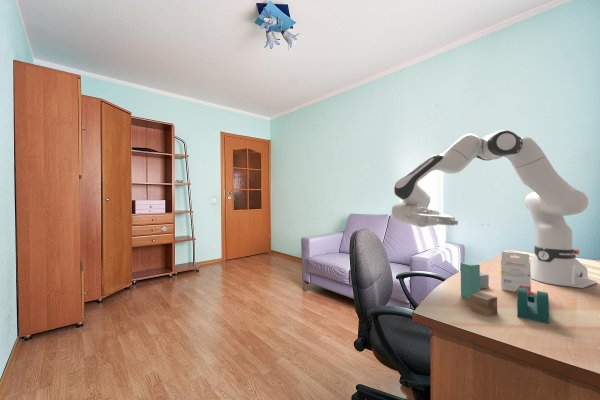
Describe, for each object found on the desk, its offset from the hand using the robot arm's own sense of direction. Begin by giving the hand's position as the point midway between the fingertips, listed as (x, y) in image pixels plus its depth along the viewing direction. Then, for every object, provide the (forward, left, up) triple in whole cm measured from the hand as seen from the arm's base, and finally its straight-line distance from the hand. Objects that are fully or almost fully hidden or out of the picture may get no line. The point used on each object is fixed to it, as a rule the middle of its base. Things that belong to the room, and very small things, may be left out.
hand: (448, 222), depth 101 cm
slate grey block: (-13, +1, -26) cm, 29 cm away
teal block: (+1, +10, -26) cm, 28 cm away
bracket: (-9, +23, -26) cm, 36 cm away
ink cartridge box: (-22, +9, -26) cm, 36 cm away
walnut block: (+7, +20, -26) cm, 33 cm away
